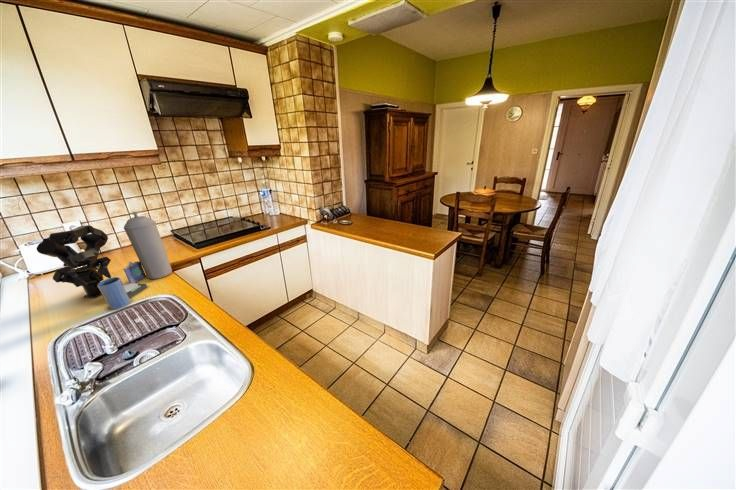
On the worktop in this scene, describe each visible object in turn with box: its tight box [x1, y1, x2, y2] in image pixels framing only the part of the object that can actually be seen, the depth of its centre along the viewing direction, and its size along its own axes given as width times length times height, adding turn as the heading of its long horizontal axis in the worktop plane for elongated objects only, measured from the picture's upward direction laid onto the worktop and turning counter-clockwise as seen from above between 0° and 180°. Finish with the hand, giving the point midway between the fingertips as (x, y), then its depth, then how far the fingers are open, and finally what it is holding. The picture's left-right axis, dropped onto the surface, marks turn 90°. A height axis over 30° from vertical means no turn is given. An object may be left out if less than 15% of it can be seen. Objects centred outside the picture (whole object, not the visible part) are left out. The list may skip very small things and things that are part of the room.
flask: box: [123, 260, 147, 284], centre depth 137 cm, size 9×3×11 cm, turn 179°
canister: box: [123, 211, 173, 280], centre depth 136 cm, size 13×13×35 cm
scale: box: [123, 282, 148, 299], centre depth 127 cm, size 11×10×3 cm
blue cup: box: [97, 276, 132, 311], centre depth 116 cm, size 7×7×12 cm
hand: (99, 281), depth 115 cm, fingers open, 9 cm apart
